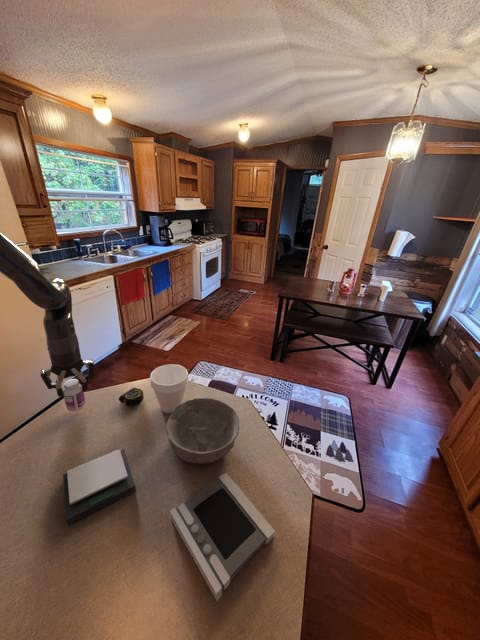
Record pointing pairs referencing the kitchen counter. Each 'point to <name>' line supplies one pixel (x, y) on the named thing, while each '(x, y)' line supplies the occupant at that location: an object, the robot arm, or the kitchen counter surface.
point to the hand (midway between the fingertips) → (73, 392)
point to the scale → (96, 485)
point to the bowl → (202, 430)
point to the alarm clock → (221, 531)
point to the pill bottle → (73, 395)
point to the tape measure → (132, 397)
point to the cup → (169, 385)
